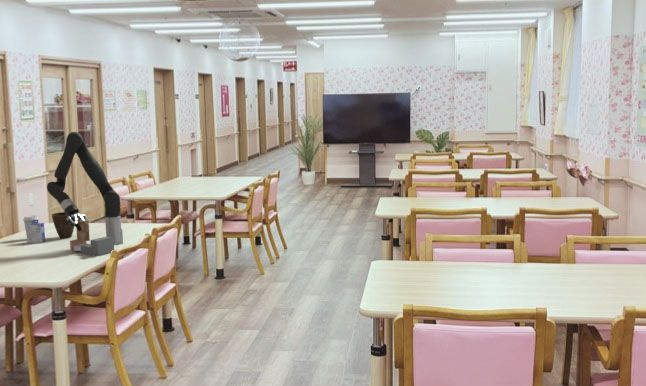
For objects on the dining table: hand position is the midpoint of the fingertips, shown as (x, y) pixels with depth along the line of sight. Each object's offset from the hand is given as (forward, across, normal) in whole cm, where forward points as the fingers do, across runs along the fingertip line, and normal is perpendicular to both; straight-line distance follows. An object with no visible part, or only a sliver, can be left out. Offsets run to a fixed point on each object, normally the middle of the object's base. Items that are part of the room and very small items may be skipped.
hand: (84, 229), depth 432 cm
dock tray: (+8, 0, +10) cm, 13 cm away
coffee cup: (-36, +12, +56) cm, 68 cm away
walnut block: (+4, 0, +6) cm, 7 cm away
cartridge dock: (+17, 0, +2) cm, 17 cm away
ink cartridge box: (-27, +6, +47) cm, 55 cm away
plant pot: (-24, +25, +44) cm, 56 cm away
